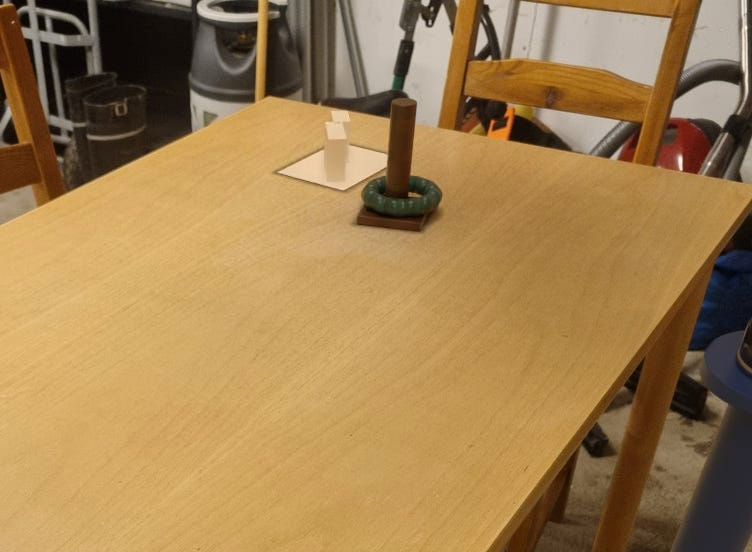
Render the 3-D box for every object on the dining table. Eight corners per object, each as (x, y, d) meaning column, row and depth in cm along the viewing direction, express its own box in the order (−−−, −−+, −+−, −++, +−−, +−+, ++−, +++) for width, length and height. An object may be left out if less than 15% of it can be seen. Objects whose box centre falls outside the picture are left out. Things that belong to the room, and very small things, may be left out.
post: (431, 206, 120) (444, 94, 111) (419, 231, 115) (431, 115, 105) (371, 200, 122) (378, 88, 112) (356, 224, 116) (363, 109, 107)
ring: (447, 193, 120) (449, 177, 119) (431, 223, 114) (433, 206, 112) (372, 184, 123) (373, 168, 121) (352, 213, 116) (353, 197, 115)
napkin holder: (344, 191, 124) (346, 144, 120) (276, 172, 129) (276, 127, 124) (402, 157, 132) (406, 113, 128) (336, 141, 137) (338, 98, 133)
